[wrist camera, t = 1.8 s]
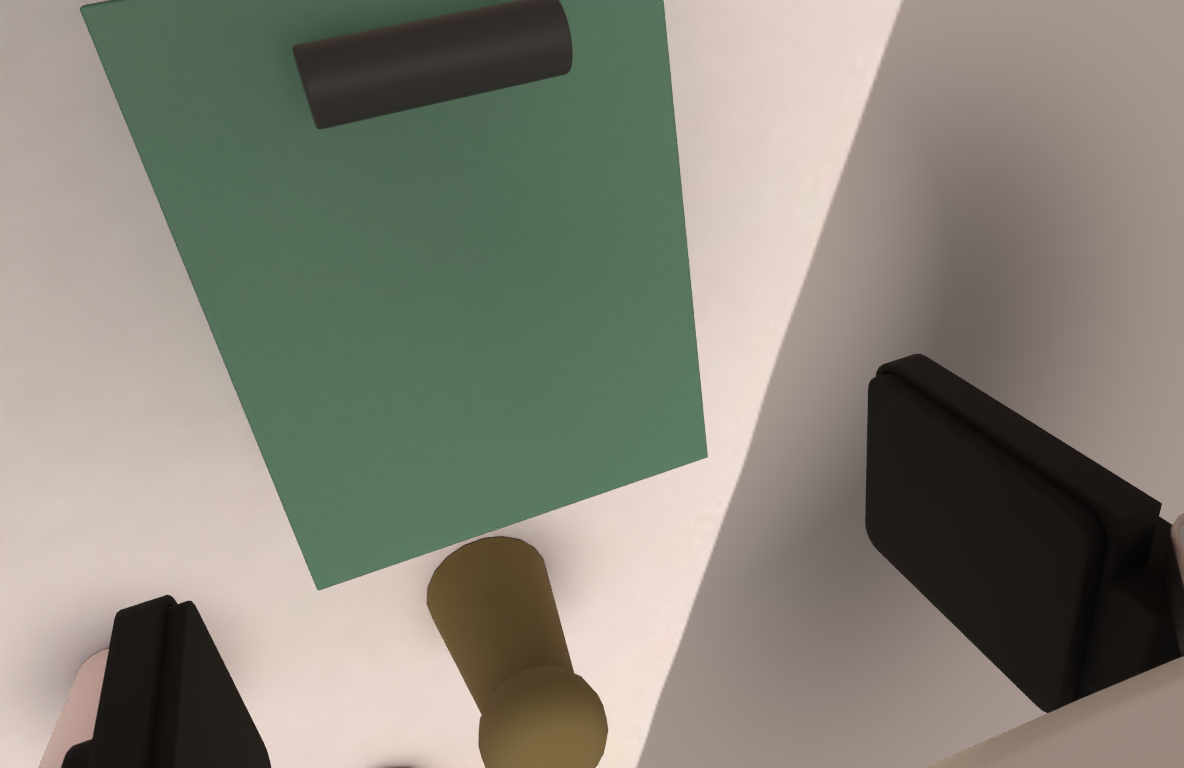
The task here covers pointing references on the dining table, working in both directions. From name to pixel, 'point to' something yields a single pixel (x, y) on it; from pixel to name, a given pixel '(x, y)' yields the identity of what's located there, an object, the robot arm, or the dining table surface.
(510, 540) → the cork
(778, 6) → the dining table surface
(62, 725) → the smoothie
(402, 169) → the lid
